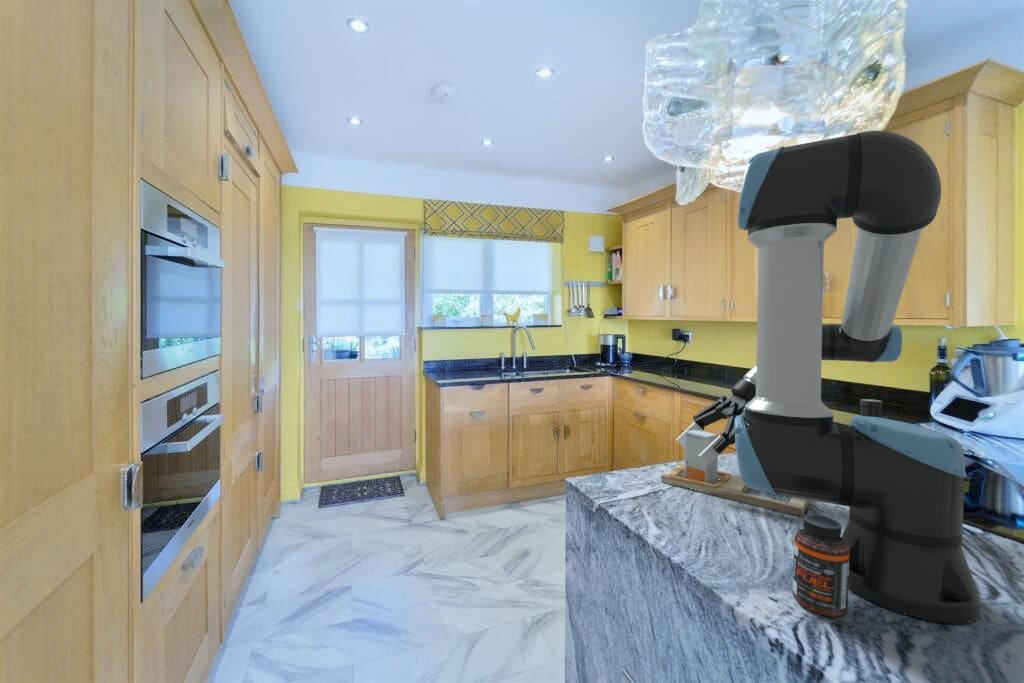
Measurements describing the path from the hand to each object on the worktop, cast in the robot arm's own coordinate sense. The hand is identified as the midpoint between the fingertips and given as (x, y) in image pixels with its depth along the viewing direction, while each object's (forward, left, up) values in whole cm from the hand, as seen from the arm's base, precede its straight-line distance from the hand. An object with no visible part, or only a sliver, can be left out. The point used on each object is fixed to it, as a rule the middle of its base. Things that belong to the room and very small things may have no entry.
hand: (690, 451), depth 101 cm
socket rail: (+2, -9, -7) cm, 12 cm away
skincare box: (+1, -2, -8) cm, 8 cm away
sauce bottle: (+28, -32, -8) cm, 43 cm away
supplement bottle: (-34, -29, -8) cm, 46 cm away
